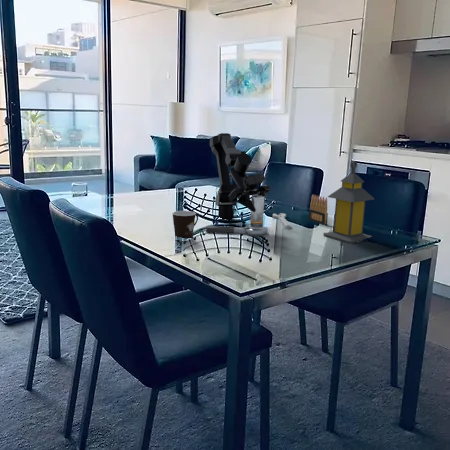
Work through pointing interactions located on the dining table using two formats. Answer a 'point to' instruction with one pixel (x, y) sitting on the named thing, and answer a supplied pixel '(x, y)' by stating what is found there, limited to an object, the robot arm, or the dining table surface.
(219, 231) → the ratchet
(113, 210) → the dining table surface
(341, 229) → the lantern
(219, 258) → the dining table surface
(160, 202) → the dining table surface
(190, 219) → the coffee mug
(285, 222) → the adjustable wrench
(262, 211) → the socket
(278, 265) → the dining table surface
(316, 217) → the ammunition clip
